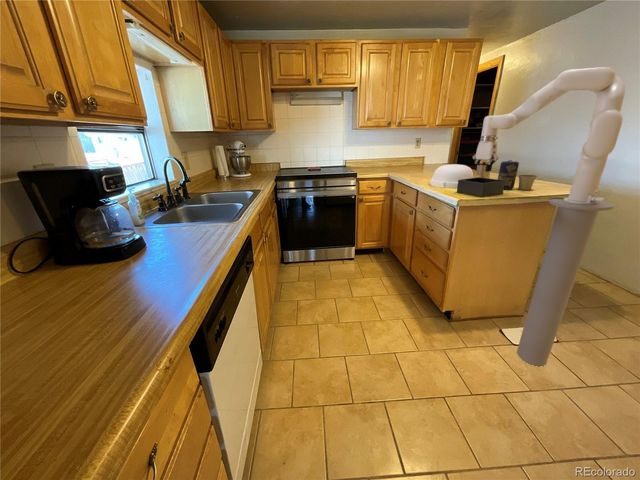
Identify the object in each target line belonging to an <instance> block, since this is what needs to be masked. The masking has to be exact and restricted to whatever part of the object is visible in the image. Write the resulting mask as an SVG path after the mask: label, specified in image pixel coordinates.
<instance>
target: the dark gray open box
mask: <svg viewBox="0 0 640 480" xmlns="http://www.w3.org/2000/svg"><path fill="white" fill-rule="evenodd" d="M504 185H505V180H498V178H490V177H489V178H481V177H477V178H476V177H473V178H469V179H461V180H458V186H457V188H456V193H458V194H462V195H468V196H473V197H476V198H477V197H478V198H486V197H487V198H488V197H492V196H493V197H494V196H498V195H503V194H504V190H505V189H504Z"/></svg>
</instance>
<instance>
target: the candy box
mask: <svg viewBox="0 0 640 480" xmlns="http://www.w3.org/2000/svg"><path fill="white" fill-rule="evenodd" d="M483 162H486V163H488V160H481V162H480V163H483ZM491 173H492V170H491V171H490V172H489V173H488V175H487V176H478V175H476V174H475V178H477V177H481V178H489V179H490V176H491Z"/></svg>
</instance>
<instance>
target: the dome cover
mask: <svg viewBox="0 0 640 480" xmlns="http://www.w3.org/2000/svg"><path fill="white" fill-rule="evenodd" d="M432 174H433V175H432V178H431V179H430V181H429V186H432V187H436V188H441V189H457V186H458V180H461V179H469V178H474V171H473V170H472V168H471V167H469V166H468V165H466V164H457V163H453V164H452V163H451V164H450V163H449V164H444V165H440V166H438V167H437V168H435V170H434V172H433V173H432Z"/></svg>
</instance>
